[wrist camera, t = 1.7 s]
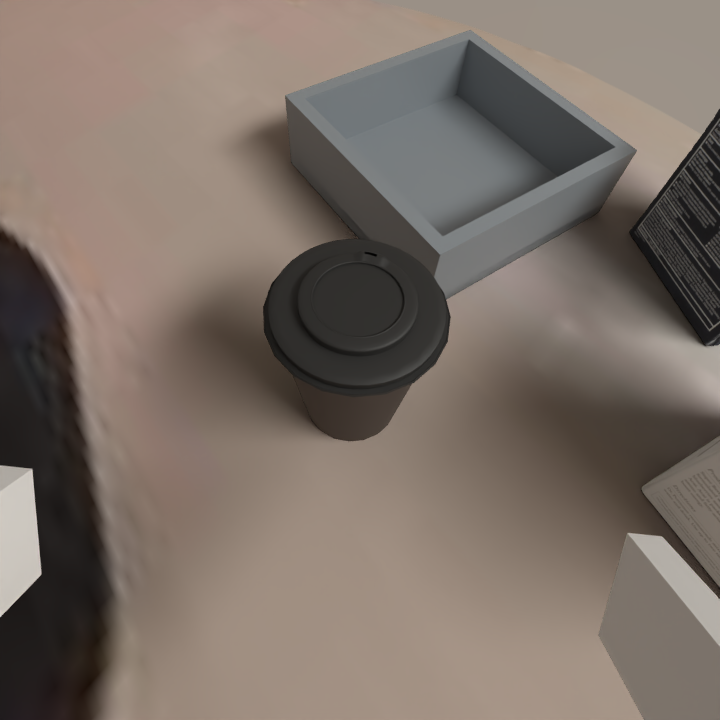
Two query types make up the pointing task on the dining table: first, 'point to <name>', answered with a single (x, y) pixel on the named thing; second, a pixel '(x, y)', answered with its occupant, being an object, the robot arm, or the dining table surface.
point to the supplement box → (693, 503)
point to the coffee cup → (355, 331)
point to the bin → (453, 157)
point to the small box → (689, 234)
